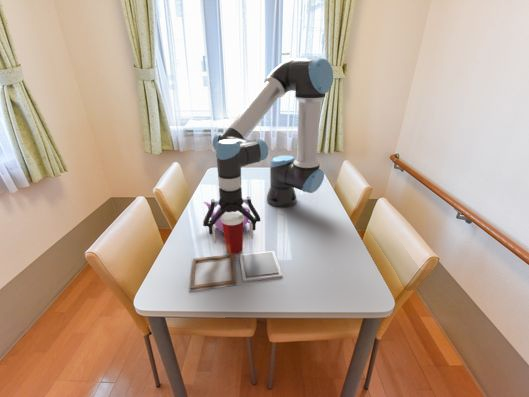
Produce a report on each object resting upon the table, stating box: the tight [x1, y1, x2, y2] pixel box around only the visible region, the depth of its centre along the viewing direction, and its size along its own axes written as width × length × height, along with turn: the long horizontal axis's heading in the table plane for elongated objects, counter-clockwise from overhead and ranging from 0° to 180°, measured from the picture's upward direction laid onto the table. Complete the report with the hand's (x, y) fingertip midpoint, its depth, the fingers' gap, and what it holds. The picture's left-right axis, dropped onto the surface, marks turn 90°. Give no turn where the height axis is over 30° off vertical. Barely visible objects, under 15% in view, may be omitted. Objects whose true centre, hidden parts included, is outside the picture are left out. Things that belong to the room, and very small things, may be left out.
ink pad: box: [238, 250, 283, 283], centre depth 92 cm, size 13×13×1 cm
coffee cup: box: [221, 211, 244, 255], centre depth 97 cm, size 8×8×15 cm
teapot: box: [203, 201, 251, 233], centre depth 112 cm, size 20×14×12 cm
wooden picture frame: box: [188, 253, 238, 292], centre depth 90 cm, size 15×15×1 cm
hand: (233, 238), depth 98 cm, fingers open, 13 cm apart
